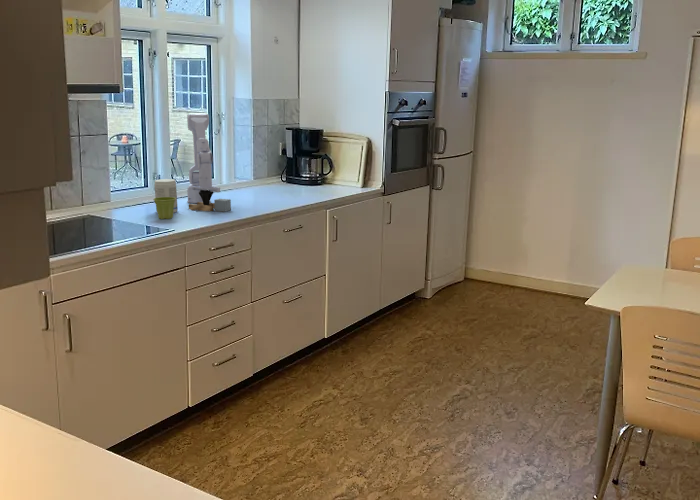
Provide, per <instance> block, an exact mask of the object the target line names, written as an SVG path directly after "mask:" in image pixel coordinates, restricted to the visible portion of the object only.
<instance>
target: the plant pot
mask: <svg viewBox="0 0 700 500" xmlns="http://www.w3.org/2000/svg"><path fill="white" fill-rule="evenodd" d="M175 199H176V198H174V197H159V198H155V197H154V198H153V201H154V204H155V209H156V208H157V211H156V213H157V218H158V219H160V220H164V219H166V220H171V219H172V218H173V217H174V213H173V209H174V202H175Z"/></svg>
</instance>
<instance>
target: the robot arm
mask: <svg viewBox="0 0 700 500" xmlns="http://www.w3.org/2000/svg"><path fill="white" fill-rule="evenodd" d="M186 116H187V117H186V118H187V121H186V122H187V129H188V131H190V132H191V133H192V134H191V135H192V141H193V159H194V165H192V166H191V167H190V168H189V169H188V180H189V181H188V182H189V185H187V190H186V191H187V201H186V203H188V204H197V202H203V204H204V205H209V203H212V200H211V199H212V196H213V194H214V193H221V187H217V186H213V178H212V174H213V173H212V164H213V153H212V150H211V149H210V143H209V140H208V139H207V138H206V131H207V129H208V128H209V125H210V115H209V114H208V113H207V112H206V113H190V112H189V113H187V115H186Z"/></svg>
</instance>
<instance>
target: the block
mask: <svg viewBox="0 0 700 500" xmlns="http://www.w3.org/2000/svg"><path fill="white" fill-rule="evenodd" d="M213 203H214V204H215V209H214V210H215V211H214V212H216V211H226V212H230V211H231V210H232V200H231V199H230V198H229V199H228V198H217V199H214V202H213Z"/></svg>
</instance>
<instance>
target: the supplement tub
mask: <svg viewBox="0 0 700 500" xmlns="http://www.w3.org/2000/svg"><path fill="white" fill-rule="evenodd" d="M154 195H155V196H154V198H159V197H174V198H176V199H175V202H174V209H173V214H174V213H176V212H178V197H177V196H178V194H177V182H176V179H172V178H163V179H156V180H154ZM155 209H156V212H157V208H156V207H155Z"/></svg>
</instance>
